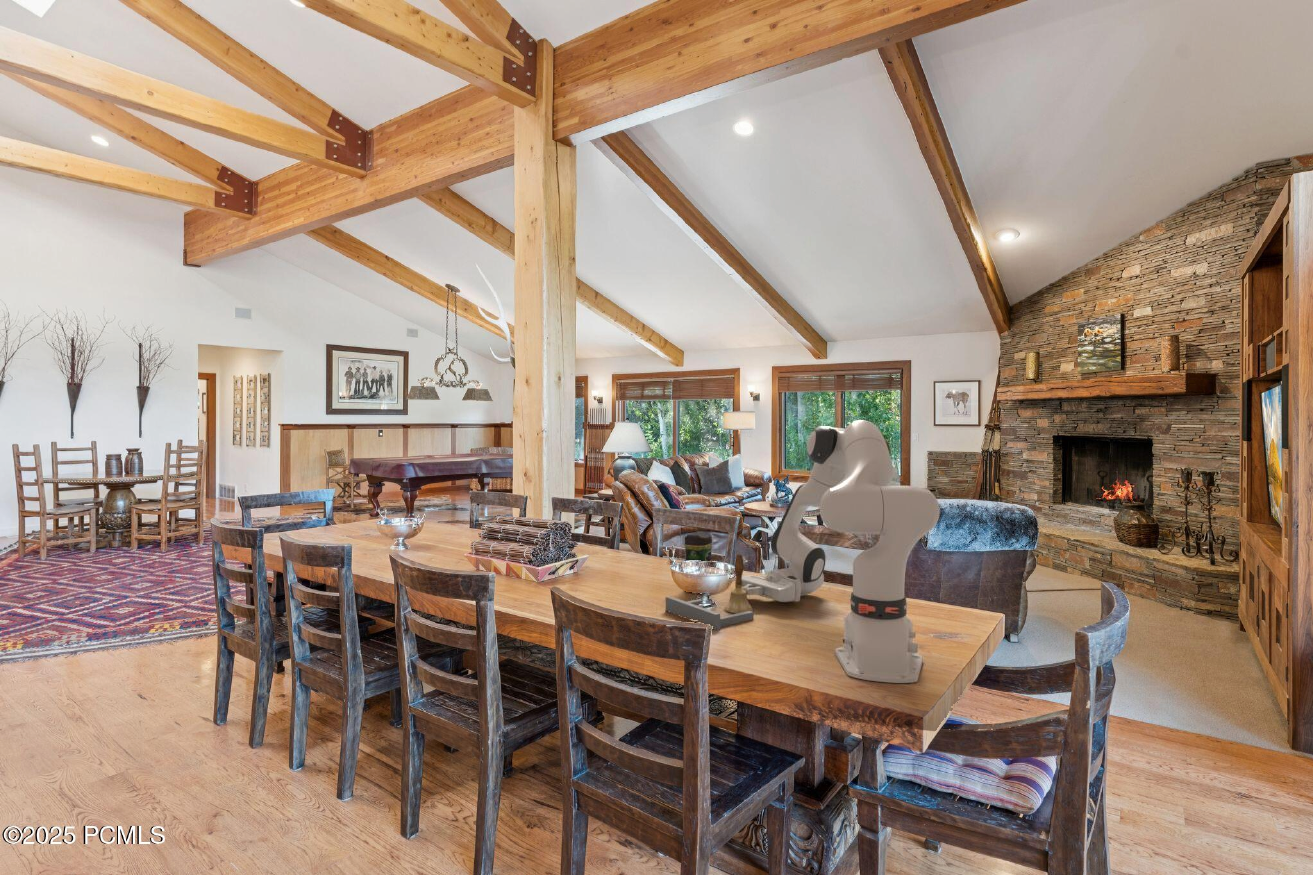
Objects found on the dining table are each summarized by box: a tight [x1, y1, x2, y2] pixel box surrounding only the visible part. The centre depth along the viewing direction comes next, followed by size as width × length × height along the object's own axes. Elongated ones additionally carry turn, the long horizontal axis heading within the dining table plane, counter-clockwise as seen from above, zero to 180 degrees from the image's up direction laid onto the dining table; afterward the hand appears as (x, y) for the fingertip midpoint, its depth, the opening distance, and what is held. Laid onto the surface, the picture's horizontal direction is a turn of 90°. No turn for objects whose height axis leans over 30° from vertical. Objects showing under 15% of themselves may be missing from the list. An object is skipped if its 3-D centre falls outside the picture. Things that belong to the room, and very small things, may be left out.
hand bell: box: [723, 553, 754, 614], centre depth 189 cm, size 8×8×16 cm
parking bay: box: [665, 595, 755, 631], centre depth 184 cm, size 15×22×4 cm, turn 35°
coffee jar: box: [684, 530, 713, 563], centre depth 214 cm, size 10×8×19 cm
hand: (744, 591), depth 191 cm, fingers closed, pressing on hand bell
